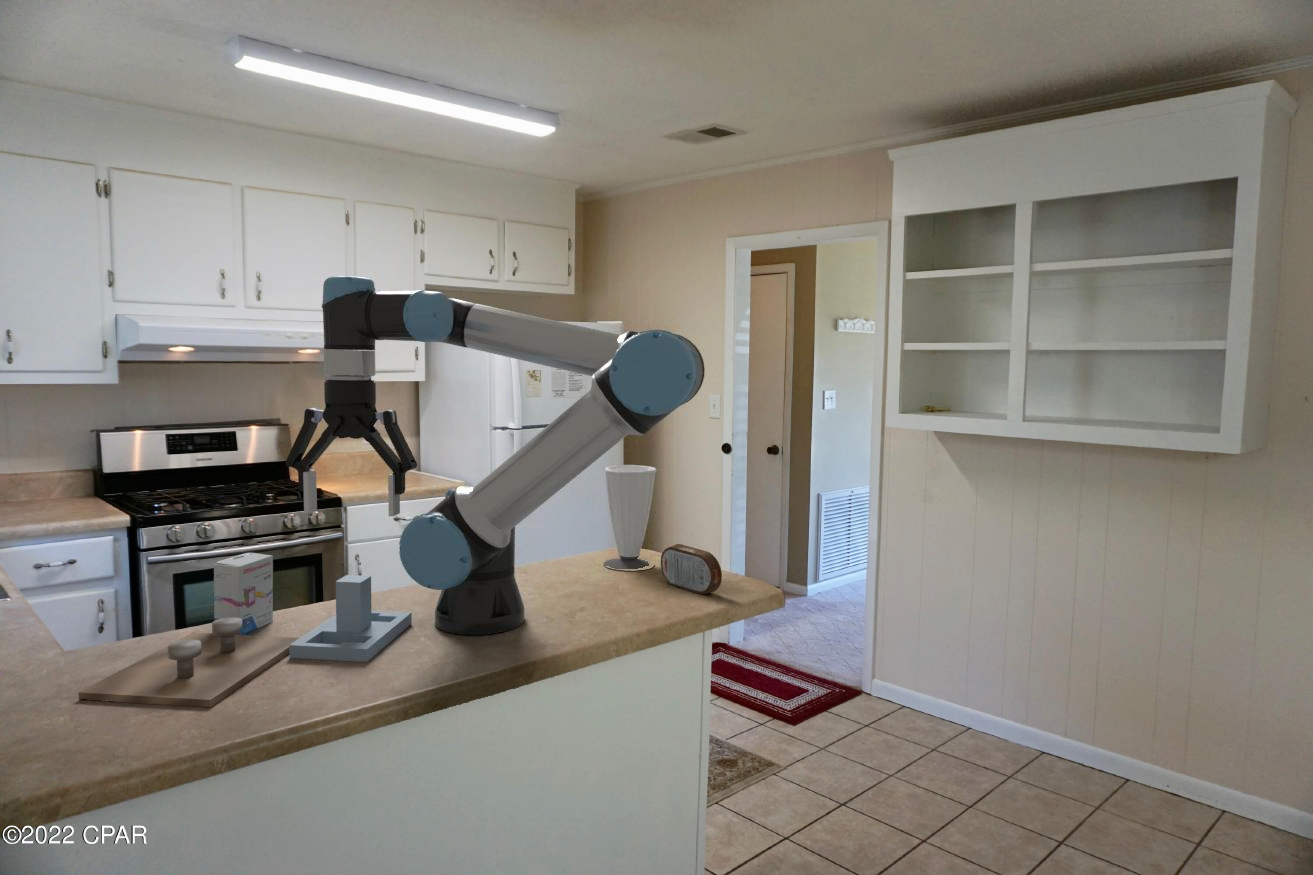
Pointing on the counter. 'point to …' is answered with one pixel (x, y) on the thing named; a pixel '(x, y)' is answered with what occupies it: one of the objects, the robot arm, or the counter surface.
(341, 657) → the panel
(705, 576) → the tin
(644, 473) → the cup
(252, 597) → the ink box
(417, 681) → the counter surface
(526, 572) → the counter surface
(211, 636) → the boss board
